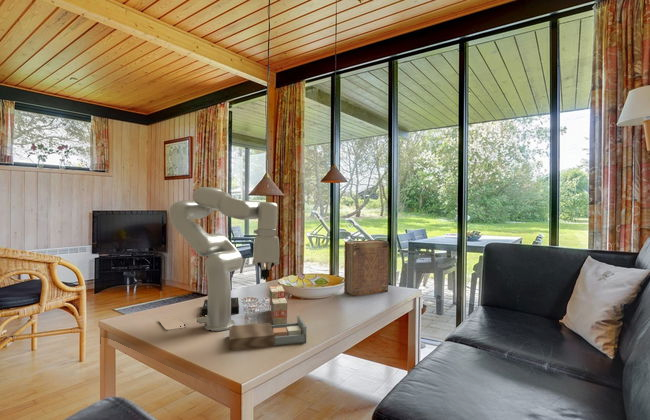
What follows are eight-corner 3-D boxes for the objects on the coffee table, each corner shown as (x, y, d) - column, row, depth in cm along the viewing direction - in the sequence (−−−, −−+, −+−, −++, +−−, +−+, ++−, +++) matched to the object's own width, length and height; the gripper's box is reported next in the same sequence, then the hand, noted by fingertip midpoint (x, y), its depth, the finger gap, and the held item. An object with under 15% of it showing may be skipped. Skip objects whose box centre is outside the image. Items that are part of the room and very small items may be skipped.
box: (274, 345, 131) (274, 329, 131) (270, 332, 145) (270, 317, 145) (306, 342, 134) (306, 326, 134) (299, 329, 148) (299, 315, 148)
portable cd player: (203, 307, 181) (203, 299, 181) (238, 305, 185) (238, 297, 185) (201, 317, 165) (200, 309, 165) (238, 314, 170) (238, 306, 169)
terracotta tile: (273, 340, 135) (273, 332, 135) (273, 335, 140) (273, 328, 140) (286, 339, 136) (286, 331, 136) (285, 334, 141) (285, 327, 141)
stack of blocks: (287, 324, 156) (287, 295, 155) (272, 325, 154) (272, 296, 154) (282, 309, 176) (282, 284, 176) (269, 310, 175) (269, 285, 175)
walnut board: (229, 350, 127) (229, 339, 127) (229, 336, 141) (229, 326, 141) (274, 345, 131) (274, 335, 131) (270, 332, 145) (270, 322, 145)
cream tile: (301, 329, 138) (301, 337, 138) (298, 325, 143) (298, 333, 143) (288, 331, 137) (288, 338, 137) (286, 326, 142) (286, 334, 142)
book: (352, 296, 201) (352, 243, 200) (344, 293, 209) (344, 241, 209) (388, 291, 213) (388, 241, 213) (378, 288, 221) (379, 239, 221)
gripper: (248, 233, 136) (246, 281, 137) (287, 234, 140) (285, 281, 140) (247, 231, 143) (245, 277, 144) (284, 232, 147) (282, 276, 148)
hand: (265, 279), depth 142 cm, fingers closed
